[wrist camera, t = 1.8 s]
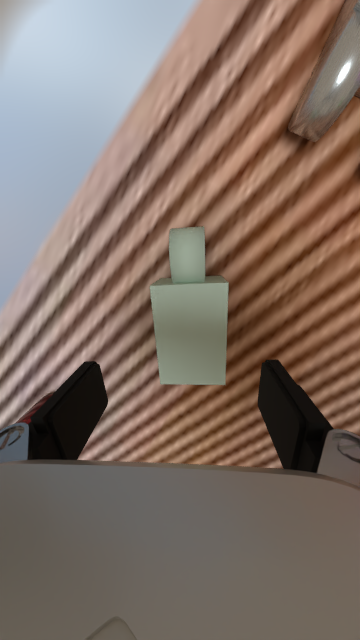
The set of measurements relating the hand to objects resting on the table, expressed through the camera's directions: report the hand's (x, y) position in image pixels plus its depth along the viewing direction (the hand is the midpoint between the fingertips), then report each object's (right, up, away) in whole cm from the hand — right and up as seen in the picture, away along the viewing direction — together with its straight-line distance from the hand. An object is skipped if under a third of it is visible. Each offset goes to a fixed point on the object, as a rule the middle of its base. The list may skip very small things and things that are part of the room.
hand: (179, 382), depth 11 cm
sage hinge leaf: (+1, +6, +10) cm, 12 cm away
